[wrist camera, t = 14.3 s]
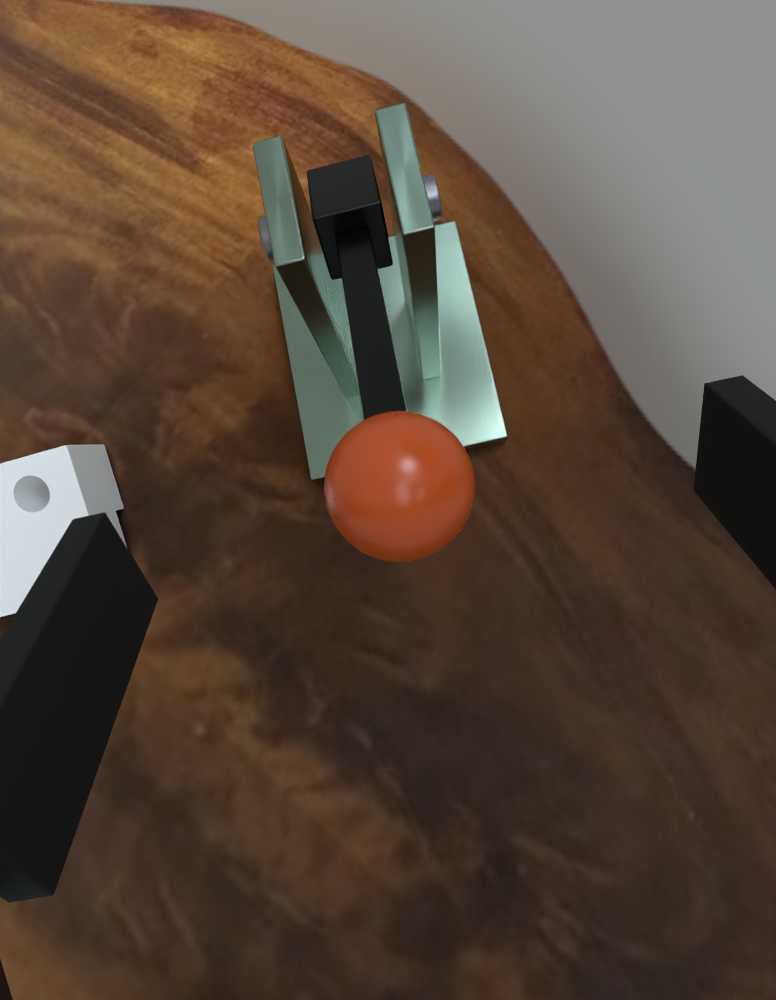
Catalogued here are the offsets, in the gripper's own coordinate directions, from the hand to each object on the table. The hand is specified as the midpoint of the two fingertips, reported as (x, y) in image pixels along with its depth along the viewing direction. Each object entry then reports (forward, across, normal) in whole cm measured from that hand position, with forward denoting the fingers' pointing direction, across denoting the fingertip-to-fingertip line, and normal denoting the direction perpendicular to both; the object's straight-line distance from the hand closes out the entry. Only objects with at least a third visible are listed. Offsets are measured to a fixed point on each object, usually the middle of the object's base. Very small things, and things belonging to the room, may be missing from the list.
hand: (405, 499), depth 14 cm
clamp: (+20, 0, -5) cm, 20 cm away
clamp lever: (+7, 0, 0) cm, 7 cm away
